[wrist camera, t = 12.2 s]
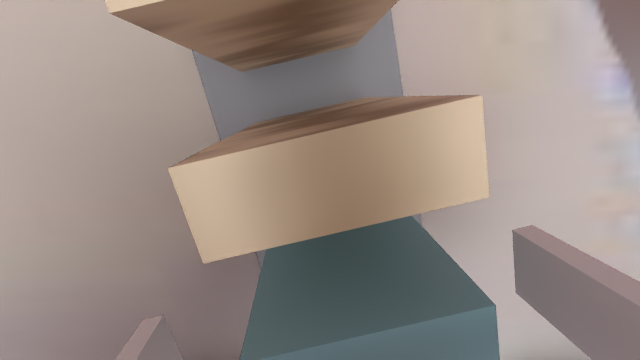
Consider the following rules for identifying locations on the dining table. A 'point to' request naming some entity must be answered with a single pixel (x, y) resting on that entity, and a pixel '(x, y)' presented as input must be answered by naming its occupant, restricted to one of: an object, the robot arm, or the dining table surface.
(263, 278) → the end tile
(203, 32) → the tile
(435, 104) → the tile
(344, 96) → the mat
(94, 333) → the dining table surface
